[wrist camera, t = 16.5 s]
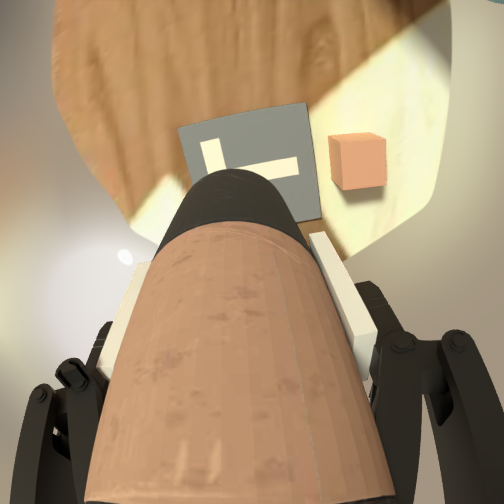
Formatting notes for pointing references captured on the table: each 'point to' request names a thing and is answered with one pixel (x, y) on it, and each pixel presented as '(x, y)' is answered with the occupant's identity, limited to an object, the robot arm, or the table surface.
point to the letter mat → (260, 152)
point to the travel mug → (236, 369)
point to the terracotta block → (357, 160)
